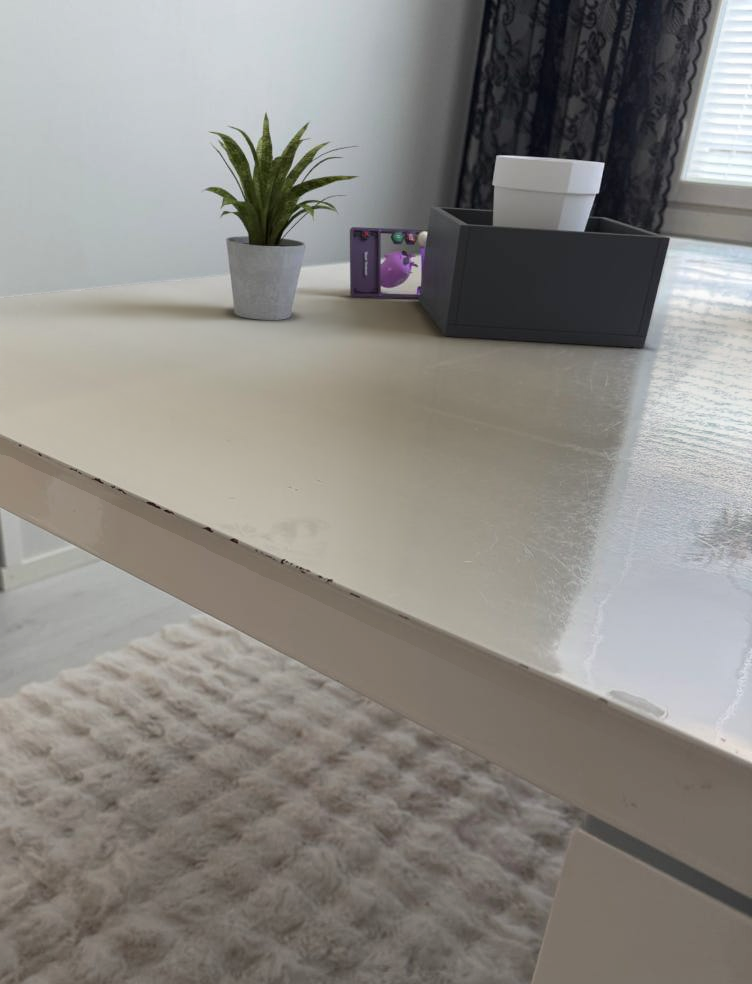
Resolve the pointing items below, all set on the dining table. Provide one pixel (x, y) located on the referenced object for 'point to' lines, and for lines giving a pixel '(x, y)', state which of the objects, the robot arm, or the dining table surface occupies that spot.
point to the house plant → (268, 223)
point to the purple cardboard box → (367, 261)
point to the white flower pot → (544, 192)
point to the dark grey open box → (540, 280)
